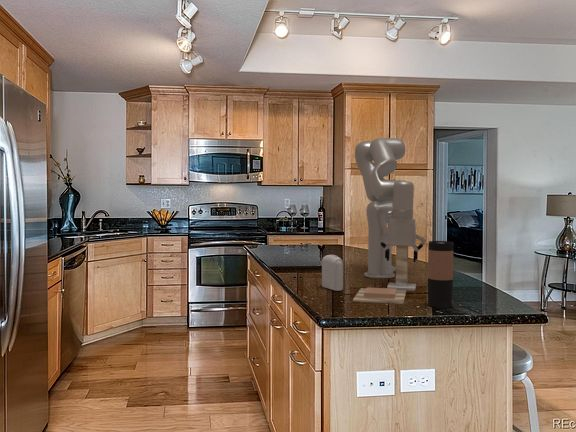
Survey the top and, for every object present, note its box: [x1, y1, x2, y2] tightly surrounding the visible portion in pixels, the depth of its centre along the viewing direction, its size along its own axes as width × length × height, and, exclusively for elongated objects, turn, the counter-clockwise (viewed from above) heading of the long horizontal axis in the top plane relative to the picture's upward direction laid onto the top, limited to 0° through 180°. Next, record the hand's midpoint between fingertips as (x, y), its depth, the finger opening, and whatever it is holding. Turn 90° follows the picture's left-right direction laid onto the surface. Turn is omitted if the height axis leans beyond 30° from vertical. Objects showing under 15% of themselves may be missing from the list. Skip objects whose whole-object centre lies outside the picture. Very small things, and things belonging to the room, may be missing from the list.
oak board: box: [352, 287, 407, 305], centre depth 181 cm, size 20×16×1 cm
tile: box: [364, 286, 397, 299], centre depth 180 cm, size 2×10×10 cm
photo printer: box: [321, 254, 344, 292], centre depth 195 cm, size 10×4×12 cm, turn 26°
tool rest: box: [386, 282, 417, 292], centre depth 198 cm, size 10×10×1 cm
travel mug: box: [427, 240, 454, 309], centre depth 167 cm, size 8×8×20 cm
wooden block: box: [395, 245, 409, 287], centre depth 197 cm, size 4×4×16 cm
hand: (401, 260), depth 198 cm, fingers open, 9 cm apart
